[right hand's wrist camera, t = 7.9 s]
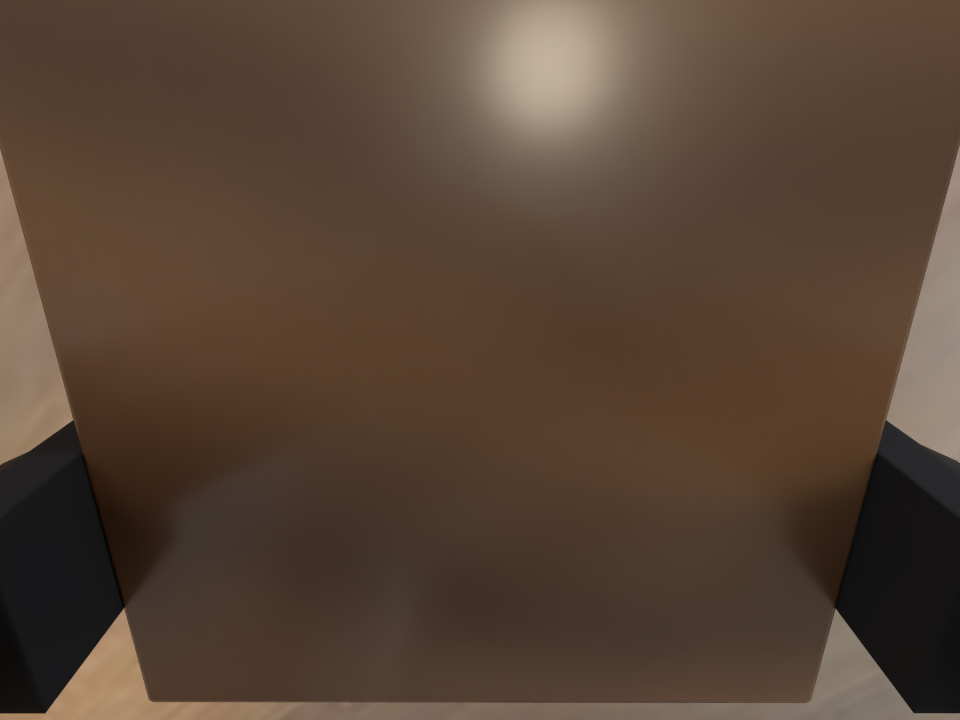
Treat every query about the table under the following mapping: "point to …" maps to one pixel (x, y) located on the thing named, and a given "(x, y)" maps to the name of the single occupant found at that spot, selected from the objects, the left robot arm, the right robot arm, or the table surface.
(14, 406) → the table surface
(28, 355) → the table surface
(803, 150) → the cabinet
